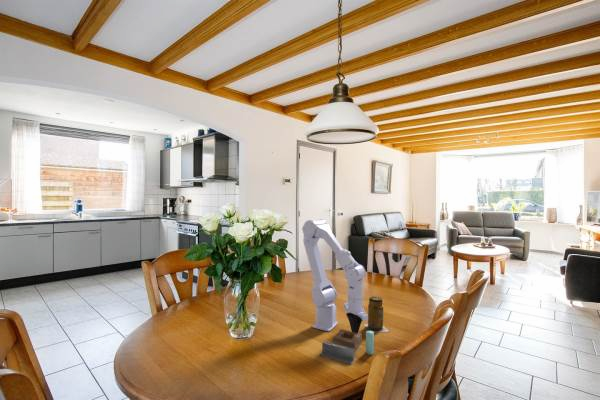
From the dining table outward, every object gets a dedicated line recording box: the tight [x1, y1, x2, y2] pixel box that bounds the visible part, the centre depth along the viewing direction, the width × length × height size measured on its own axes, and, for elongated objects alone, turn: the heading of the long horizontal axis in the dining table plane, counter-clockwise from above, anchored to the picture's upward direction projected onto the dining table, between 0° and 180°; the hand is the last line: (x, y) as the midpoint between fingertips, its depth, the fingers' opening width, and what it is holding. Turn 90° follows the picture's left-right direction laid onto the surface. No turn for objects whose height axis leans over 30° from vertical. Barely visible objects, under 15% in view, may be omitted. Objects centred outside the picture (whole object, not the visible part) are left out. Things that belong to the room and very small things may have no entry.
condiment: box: [363, 296, 390, 334], centre depth 125 cm, size 7×8×12 cm
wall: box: [319, 341, 356, 365], centre depth 101 cm, size 3×11×4 cm, turn 61°
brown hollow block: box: [332, 328, 363, 353], centre depth 110 cm, size 8×8×4 cm
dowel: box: [365, 330, 375, 356], centre depth 105 cm, size 3×3×7 cm
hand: (355, 332), depth 117 cm, fingers closed
